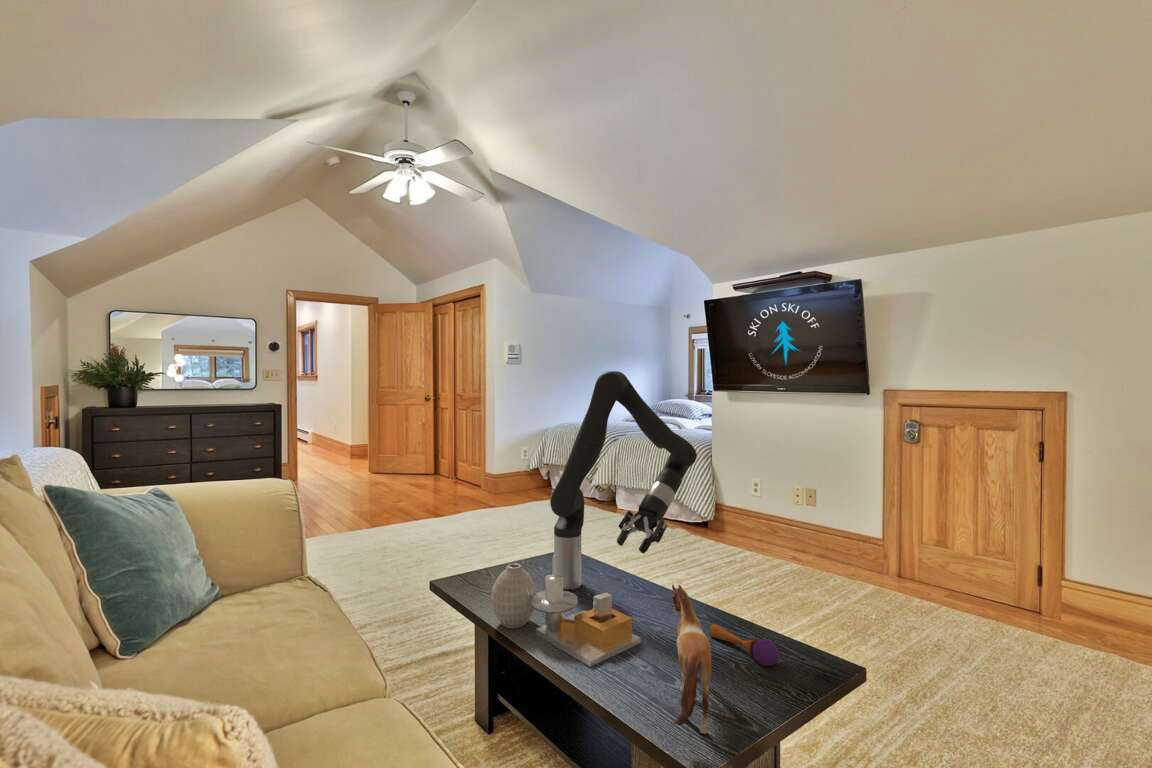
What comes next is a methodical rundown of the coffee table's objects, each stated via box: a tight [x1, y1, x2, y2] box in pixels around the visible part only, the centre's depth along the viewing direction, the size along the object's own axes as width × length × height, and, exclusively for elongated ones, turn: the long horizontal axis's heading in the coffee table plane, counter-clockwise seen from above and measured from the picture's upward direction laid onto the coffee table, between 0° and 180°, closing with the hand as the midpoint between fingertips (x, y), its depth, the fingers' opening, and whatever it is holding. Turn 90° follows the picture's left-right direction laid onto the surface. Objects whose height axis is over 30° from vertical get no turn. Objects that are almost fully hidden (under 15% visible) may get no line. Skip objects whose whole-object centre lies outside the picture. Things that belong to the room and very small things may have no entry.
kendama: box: [708, 624, 780, 667], centre depth 140 cm, size 6×6×20 cm
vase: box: [490, 563, 537, 630], centre depth 155 cm, size 13×13×17 cm
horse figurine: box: [671, 584, 712, 735], centre depth 117 cm, size 31×8×21 cm, turn 170°
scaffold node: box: [530, 573, 641, 668], centre depth 147 cm, size 26×20×16 cm
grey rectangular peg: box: [592, 592, 613, 623], centre depth 146 cm, size 2×4×10 cm, turn 124°
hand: (629, 548), depth 152 cm, fingers open, 8 cm apart
